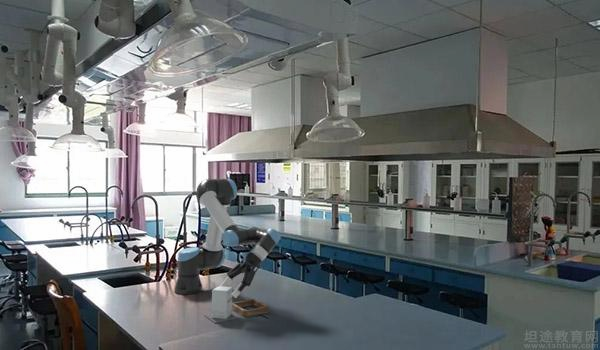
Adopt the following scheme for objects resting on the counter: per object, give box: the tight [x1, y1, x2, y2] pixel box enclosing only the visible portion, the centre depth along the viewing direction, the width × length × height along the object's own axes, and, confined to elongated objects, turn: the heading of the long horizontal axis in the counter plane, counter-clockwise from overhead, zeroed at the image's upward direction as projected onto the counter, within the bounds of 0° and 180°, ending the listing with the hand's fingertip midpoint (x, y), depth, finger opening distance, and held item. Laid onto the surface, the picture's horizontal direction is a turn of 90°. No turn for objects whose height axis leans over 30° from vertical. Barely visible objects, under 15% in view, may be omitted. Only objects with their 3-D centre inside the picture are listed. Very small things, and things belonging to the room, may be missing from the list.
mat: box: [203, 312, 241, 324], centre depth 186 cm, size 12×12×1 cm
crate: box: [232, 298, 270, 318], centre depth 196 cm, size 15×13×3 cm
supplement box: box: [211, 285, 233, 319], centre depth 187 cm, size 7×7×13 cm
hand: (226, 292), depth 187 cm, fingers open, 13 cm apart
